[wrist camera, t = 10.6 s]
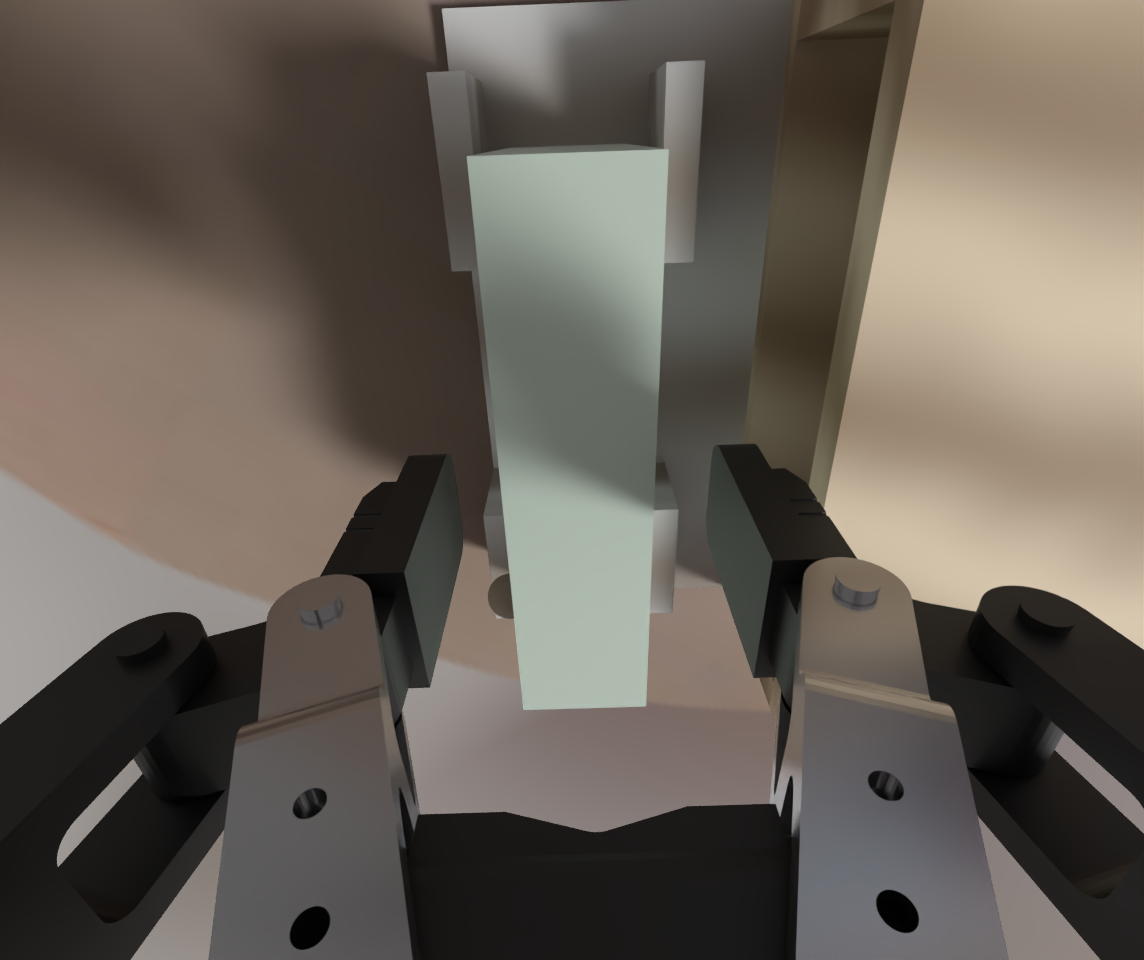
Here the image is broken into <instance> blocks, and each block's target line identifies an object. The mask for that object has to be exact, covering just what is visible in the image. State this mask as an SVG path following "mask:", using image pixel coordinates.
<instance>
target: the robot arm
mask: <svg viewBox="0 0 1144 960" xmlns="http://www.w3.org/2000/svg"><path fill="white" fill-rule="evenodd" d="M706 530H707V539H708V544H709V548H710V551H711V554H712V557H713V560H714V563H715V566H716V569H717V572H718V575H719V578H720V581H721V584H722V586H723V589H724V592H725V595H726V598H727V601H728V604H729V607H730V610H731V613H732V616H733V619H734V622H735V625H736V628H737V631H738V634H739V637H740V640H741V643H742V645H743V648H744V651H745V654H746V657H747V660H748V663H749V666H750V669H751V672H752V675H753V678H768V677H776V678H777V681H778V683H779V686H780V689H781V692H780V697H779V702H778V708H777V717H776V730H775V742H774V756H773V768H772V780H771V781H772V782H771V793H770V804H752V805H721V806H687V807H684V808H681V809H678V810H674V811H671V812H668V813H664V814H661V815H658V816H655V817H651V818H648V819H645V820H641V821H638V822H635V823H632V824H628V825H625V826H622V827H618V828H615V829H611V830H608V831H604V832H588V831H583V830H579V829H575V828H570V827H567V826H562V825H558V824H554V823H549V822H545V821H541V820H537V819H533V818H529V817H524V816H520V815H515V814H512V813H507V812H489V813H458V814H457V813H456V814H425V815H420V810H419V803H418V797H417V791H416V785H415V779H414V773H413V766H412V760H411V754H410V748H409V742H408V736H407V729H406V723H405V719H404V715H403V711H402V708H403V705H404V701H405V698H406V694H407V691H408V688H424V687H425V688H426V687H427V688H428V687H430V685H431V681H432V677H433V672H434V668H435V664H436V660H437V656H438V652H439V648H440V643H441V639H442V635H443V631H444V627H445V623H446V619H447V614H448V610H449V606H450V602H451V598H452V594H453V589H454V585H455V581H456V577H457V573H458V569H459V564H460V560H461V556H462V550H463V526H462V519H461V512H460V506H459V499H458V493H457V486H456V480H455V473H454V467H453V462H452V459H451V456H450V455H449V454H442V455H414V456H409V457H408V459H407V461H406V463H405V465H404V467H403V469H402V471H401V473H400V475H399V477H398V480H397V482H382V483H380V484H379V485H378V486H377V487H375V488H374V489H373V490H372V491H370V492H369V493H368V494H367V495H365V496H364V497H363V498H362V500H361V502H360V504H359V506H358V507H357V509H356V511H355V513H354V518H352V519H351V520H350V522H349V524H348V526H347V528H346V532H344V533H343V535H342V537H341V539H340V541H339V543H338V544H337V546H336V548H335V550H334V552H333V554H332V555H331V557H330V559H329V561H328V563H327V565H326V567H325V568H324V570H323V572H322V574H321V576H320V577H317V578H314V579H310V580H308V581H305V582H303V583H301V584H299V585H297V586H295V587H293V588H292V589H290V590H288V591H287V592H286V593H284V594H283V595H282V596H281V597H280V598H279V599H278V600H277V601H276V602H275V603H274V604H273V606H272V607H271V609H270V611H269V613H268V616H267V621H266V622H263V623H259V624H256V625H252V626H249V627H245V628H241V629H236V630H233V631H229V632H225V633H221V634H217V635H213V636H209V637H208V636H207V634H206V632H205V630H204V627H203V625H202V623H201V621H200V620H199V619H198V618H197V617H195V616H193V615H191V614H187V613H181V612H171V613H170V612H169V613H162V614H157V615H152V616H148V617H146V618H143V619H140V620H137V621H135V622H132V623H130V624H128V625H126V626H124V627H122V628H120V629H118V630H117V631H115V632H114V633H112V634H110V635H109V636H107V637H106V638H105V639H103V640H102V641H101V642H100V643H98V644H97V645H96V646H95V647H93V648H92V649H91V650H90V651H89V652H87V653H86V654H85V655H84V656H83V657H81V658H80V659H79V660H78V661H76V662H75V663H74V664H73V665H72V666H70V667H69V668H68V669H67V670H66V671H64V672H63V673H62V674H61V675H59V676H58V677H57V678H56V679H55V680H53V681H52V682H51V683H50V684H49V685H47V686H46V687H45V688H44V689H43V690H41V691H40V692H39V693H38V694H36V695H35V696H34V697H33V698H32V699H30V700H29V701H28V702H27V703H26V704H24V705H23V706H22V707H21V708H19V709H18V710H17V711H16V712H15V713H14V714H12V715H11V716H10V717H9V718H7V719H6V720H5V721H4V722H2V723H1V724H0V960H131V958H132V957H133V955H134V954H135V953H136V951H137V950H138V948H139V947H140V946H141V944H142V943H143V941H144V940H145V939H146V937H147V936H148V935H149V933H150V932H151V930H152V929H153V927H154V926H155V925H156V923H157V922H158V921H159V919H160V918H161V917H162V915H163V914H164V912H165V911H166V910H167V908H168V907H169V905H170V904H171V903H172V901H173V900H174V898H175V897H176V896H177V894H178V893H179V891H180V890H181V889H182V887H183V886H184V885H185V883H186V882H187V880H188V879H189V878H190V876H191V875H192V873H193V872H194V871H195V869H196V868H197V867H198V865H199V864H200V862H201V861H202V859H203V858H204V857H205V855H206V854H207V853H208V851H209V850H210V848H211V847H212V846H213V844H214V843H215V842H216V840H217V839H218V837H219V836H220V835H221V833H222V832H223V830H224V838H223V846H222V854H221V863H220V871H219V878H218V887H217V895H216V903H215V911H214V919H213V927H212V936H211V944H210V953H209V960H1009V958H1008V953H1007V949H1006V944H1005V940H1004V935H1003V930H1002V926H1001V922H1000V917H999V912H998V908H997V903H996V898H995V894H994V889H993V885H992V880H991V875H990V871H989V866H988V862H987V857H986V852H985V848H984V843H983V839H982V834H981V829H980V825H979V820H978V816H979V818H980V819H981V820H982V821H983V822H984V823H985V825H986V826H987V827H988V828H989V829H990V830H991V832H992V833H993V834H994V835H995V836H996V838H997V839H998V840H999V841H1000V842H1001V843H1002V845H1003V846H1004V847H1005V848H1006V849H1007V850H1008V852H1009V853H1010V854H1011V855H1012V856H1013V857H1014V859H1015V860H1016V861H1017V862H1018V863H1019V864H1020V866H1021V867H1022V868H1023V869H1024V870H1025V871H1026V873H1027V874H1028V875H1029V876H1030V877H1031V879H1032V880H1033V881H1034V882H1035V883H1036V884H1037V886H1038V887H1039V888H1040V889H1041V890H1042V891H1043V893H1044V894H1045V895H1046V896H1047V897H1048V899H1049V900H1050V901H1051V902H1052V903H1053V904H1054V906H1055V907H1056V908H1057V909H1058V910H1059V911H1060V913H1061V914H1062V915H1063V916H1064V917H1065V919H1066V920H1067V921H1068V922H1069V923H1070V924H1071V926H1072V927H1073V928H1074V929H1075V930H1076V931H1077V933H1078V934H1079V935H1080V936H1081V937H1082V938H1083V940H1084V941H1085V942H1086V943H1087V944H1088V945H1089V946H1090V948H1091V949H1092V950H1093V951H1094V953H1095V954H1096V955H1097V956H1098V957H1099V958H1100V960H1144V834H1143V833H1142V832H1141V831H1140V830H1139V829H1138V828H1137V827H1136V826H1135V825H1134V824H1133V823H1132V822H1131V821H1130V820H1129V819H1127V818H1126V817H1125V816H1124V815H1123V814H1122V813H1121V812H1120V811H1119V810H1118V809H1117V808H1116V807H1115V806H1114V805H1112V804H1111V803H1110V802H1109V801H1108V800H1107V799H1106V798H1105V797H1104V796H1103V795H1102V794H1101V793H1100V792H1099V791H1098V790H1096V789H1095V788H1094V787H1093V786H1092V785H1091V784H1090V783H1089V782H1088V781H1087V780H1086V779H1085V778H1084V777H1083V776H1082V775H1080V774H1079V773H1078V772H1077V771H1076V770H1075V769H1074V768H1073V767H1072V766H1071V765H1070V764H1069V763H1068V762H1067V761H1066V760H1065V759H1063V758H1062V757H1061V756H1060V755H1059V754H1058V753H1057V752H1056V751H1055V748H1056V746H1057V744H1058V743H1059V741H1060V739H1061V737H1062V736H1063V734H1064V733H1065V734H1066V735H1068V736H1069V737H1070V738H1071V739H1072V740H1073V741H1074V742H1075V743H1076V744H1077V745H1079V746H1080V747H1081V748H1082V749H1083V750H1084V751H1085V752H1086V753H1088V754H1089V755H1090V756H1091V757H1092V758H1093V759H1094V760H1095V761H1096V762H1098V763H1099V764H1100V765H1101V766H1102V767H1103V768H1104V769H1105V770H1106V771H1107V772H1109V773H1110V774H1111V775H1112V776H1113V777H1114V778H1115V779H1116V780H1118V781H1119V782H1120V783H1121V784H1122V785H1123V786H1124V787H1125V788H1127V789H1128V790H1129V791H1130V792H1131V793H1132V794H1133V795H1134V796H1135V797H1136V799H1137V800H1138V801H1139V802H1140V804H1141V805H1142V807H1143V808H1144V650H1143V649H1142V648H1141V647H1139V646H1138V645H1136V644H1135V643H1133V642H1132V641H1130V640H1129V639H1128V638H1126V637H1125V636H1123V635H1122V634H1120V633H1119V632H1117V631H1116V630H1115V629H1113V628H1112V627H1110V626H1109V625H1107V624H1106V623H1104V622H1103V621H1102V620H1100V619H1099V618H1097V617H1096V616H1094V615H1093V614H1091V613H1090V612H1089V611H1087V610H1086V609H1084V608H1082V607H1081V606H1079V605H1078V604H1076V603H1074V602H1072V601H1070V600H1068V599H1066V598H1063V597H1061V596H1059V595H1056V594H1053V593H1050V592H1047V591H1044V590H1040V589H1036V588H1031V587H1025V586H1000V587H996V588H993V589H990V590H989V591H987V592H986V593H985V594H984V595H983V596H982V598H981V600H980V603H979V605H978V608H977V610H976V612H975V611H970V610H964V609H959V608H953V607H947V606H942V605H936V604H931V603H926V602H921V601H918V600H914V599H912V597H911V594H910V591H909V590H908V588H907V586H906V585H905V584H904V583H903V582H902V581H901V580H900V579H899V578H898V577H897V576H896V575H894V574H893V573H891V572H890V571H888V570H886V569H884V568H883V567H881V566H878V565H876V564H873V563H871V562H867V561H864V560H860V559H857V557H856V556H855V554H854V553H853V551H852V550H851V548H850V547H849V545H848V544H847V542H846V541H845V539H844V538H843V537H842V535H841V534H840V532H839V531H838V529H837V528H836V526H835V525H834V523H833V522H832V520H831V519H830V517H829V516H826V511H825V510H824V508H823V507H822V505H821V504H820V502H817V498H816V496H815V495H814V493H813V492H812V490H811V489H810V487H809V486H808V484H807V483H806V482H805V481H804V480H802V479H801V478H799V477H798V476H796V475H795V474H793V473H792V472H790V471H789V470H787V469H786V468H776V469H771V467H770V466H769V464H768V462H767V461H766V459H765V457H764V456H763V454H762V452H761V451H760V449H759V447H758V446H757V445H756V444H728V445H715V446H714V448H713V452H712V458H711V468H710V479H709V490H708V502H707V513H706ZM132 759H134V760H135V762H136V764H137V765H138V767H139V768H140V770H141V771H142V773H143V774H142V775H141V776H140V778H139V779H138V780H137V781H136V782H135V783H134V784H133V785H132V786H131V787H130V789H129V790H128V791H127V792H126V793H125V794H124V795H123V796H122V797H121V799H120V800H119V801H118V802H117V803H116V804H115V805H114V806H113V807H112V809H111V810H110V811H109V812H108V813H107V814H106V815H105V816H104V817H103V818H102V820H101V821H100V822H99V823H98V824H97V825H96V826H95V827H94V828H93V830H92V831H91V832H90V833H89V834H88V835H87V836H86V837H85V838H84V839H83V841H82V842H81V843H80V844H79V845H78V846H77V847H76V848H75V849H74V850H73V852H72V853H71V854H70V855H69V856H68V857H67V858H66V859H65V861H64V862H63V863H62V864H61V865H60V866H59V867H58V866H57V853H58V849H59V846H60V843H61V841H62V839H63V837H64V835H65V833H66V832H67V830H68V829H69V827H70V826H71V825H72V823H73V822H74V821H75V820H76V819H77V818H78V817H79V816H80V814H81V813H82V812H83V811H84V810H85V809H86V808H87V807H88V806H89V805H90V804H91V803H92V801H94V800H95V798H96V797H97V796H98V795H99V794H100V793H101V792H102V791H103V790H104V789H105V788H106V787H107V786H108V785H109V784H110V783H111V782H112V780H113V779H114V778H115V777H116V776H117V775H118V774H119V773H120V772H121V771H122V770H123V769H124V768H125V767H126V766H127V764H128V763H129V762H130V761H131V760H132ZM977 815H978V816H977Z"/></svg>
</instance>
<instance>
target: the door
mask: <svg viewBox="0 0 1144 960" xmlns="http://www.w3.org/2000/svg"><path fill="white" fill-rule="evenodd" d="M668 156H669V149H664V148H656V147H648V146H639V145H631V144H599V145H571V146H543V147H515V148H506V149H501V150H496V151H491V152H486V153H481V154H476V155H471V156H467V165H468V175H469V184H470V194H471V204H472V214H473V223H474V233H475V243H476V252H477V262H478V272H479V282H480V291H481V301H482V311H483V321H484V330H485V340H486V350H487V359H488V369H489V379H490V389H491V398H492V408H493V418H494V428H495V437H496V447H497V457H498V466H499V476H500V486H501V496H502V505H503V515H504V525H505V535H506V544H507V554H508V564H509V573H508V574H504V575H501V576H499V577H498V578H497V579H495V580H494V581H493V583H492V584H491V586H490V588H489V591H488V601H489V605H490V607H491V609H492V610H493V611H494V612H495V613H496V614H497V615H498V616H500V617H503V618H507V619H513V618H514V622H515V632H516V642H517V651H518V661H519V671H520V680H521V690H522V699H523V710H536V709H569V708H572V709H573V708H607V707H643V706H646V692H647V667H648V643H649V619H650V594H651V570H652V545H653V521H654V497H655V472H656V448H657V424H658V399H659V375H660V351H661V326H662V302H663V278H664V253H665V229H666V205H667V180H668Z"/></svg>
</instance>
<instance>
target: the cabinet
mask: <svg viewBox="0 0 1144 960" xmlns="http://www.w3.org/2000/svg"><path fill="white" fill-rule="evenodd" d="M442 15H443V24H444V33H445V41H446V50H447V59H448V68H449V71H444V72H426V74H427V81H428V89H429V97H430V105H431V113H432V120H433V128H434V136H435V144H436V152H437V159H438V167H439V175H440V183H441V191H442V198H443V206H444V214H445V222H446V230H447V237H448V245H449V253H450V261H451V269H452V272H454V271H471V272H472V281H473V290H474V298H475V307H476V316H477V325H478V334H479V343H480V352H481V360H482V369H483V378H484V387H485V396H486V405H487V414H488V422H489V431H490V440H491V449H492V458H493V467H494V469H493V474H492V478H491V483H490V487H489V492H488V497H487V501H486V506H485V510H484V515H483V519H484V526H485V534H486V542H487V550H488V558H489V565H490V573H491V581H492V583H493V581H494V580H495V579H497V578H498V577H499V576H501V575H504V574H508V573H509V564H508V554H507V544H506V535H505V525H504V515H503V505H502V496H501V486H500V476H499V466H498V457H497V447H496V437H495V428H494V418H493V408H492V398H491V389H490V379H489V369H488V359H487V350H486V340H485V330H484V321H483V311H482V301H481V291H480V282H479V272H478V262H477V252H476V243H475V233H474V223H473V214H472V204H471V194H470V184H469V175H468V165H467V156H471V155H476V154H481V153H486V152H491V151H496V150H501V149H506V148H515V147H543V146H571V145H599V144H631V145H639V146H648V147H656V148H664V149H669V156H668V180H667V205H666V229H665V253H664V278H663V302H662V326H661V351H660V375H659V399H658V424H657V448H656V472H655V497H654V521H653V545H652V570H651V594H650V613H673V597H674V589H679V588H709V587H723V586H722V584H721V581H720V578H719V575H718V572H717V569H716V566H715V563H714V560H713V557H712V554H711V551H710V548H709V544H708V539H707V530H706V513H707V502H708V490H709V479H710V468H711V458H712V452H713V448H714V446H715V445H728V444H756V445H757V446H758V447H759V449H760V451H761V452H762V454H763V456H764V457H765V459H766V461H767V462H768V464H769V466H770V467H771V469H776V468H786V469H787V470H789V471H790V472H792V473H793V474H795V475H796V476H798V477H799V478H801V479H802V480H804V481H805V482H806V483H807V484H808V486H809V487H810V489H811V490H812V492H813V493H814V495H815V496H816V498H817V502H820V504H821V505H822V507H823V508H824V510H825V511H826V516H829V517H830V519H831V520H832V522H833V523H834V525H835V526H836V528H837V529H838V531H839V532H840V534H841V535H842V537H843V538H844V539H845V541H846V542H847V544H848V545H849V547H850V548H851V550H852V551H853V553H854V554H855V556H856V557H857V559H860V560H864V561H867V562H871V563H873V564H876V565H878V566H881V567H883V568H884V569H886V570H888V571H890V572H891V573H893V574H894V575H896V576H897V577H898V578H899V579H900V580H901V581H902V582H903V583H904V584H905V585H906V586H907V588H908V590H909V591H910V594H911V597H912V599H914V600H918V601H921V602H926V603H931V604H936V605H942V606H947V607H953V608H959V609H964V610H970V611H975V612H976V610H977V608H978V605H979V603H980V600H981V598H982V596H983V595H984V594H985V593H986V592H987V591H989V590H990V589H993V588H996V587H1000V586H1025V587H1031V588H1036V589H1040V590H1044V591H1047V592H1050V593H1053V594H1056V595H1059V596H1061V597H1063V598H1066V599H1068V600H1070V601H1072V602H1074V603H1076V604H1078V605H1079V606H1081V607H1082V608H1084V609H1086V610H1087V611H1089V612H1090V613H1091V614H1093V615H1094V616H1096V617H1097V618H1099V619H1100V620H1102V621H1103V622H1104V623H1106V624H1107V625H1109V626H1110V627H1112V628H1113V629H1115V630H1116V631H1117V632H1119V633H1120V634H1122V635H1123V636H1125V637H1126V638H1128V639H1129V640H1130V641H1132V642H1133V643H1135V644H1136V645H1138V646H1139V647H1141V648H1142V649H1143V650H1144V0H626V1H603V2H580V3H558V4H535V5H512V6H489V7H466V8H443V9H442ZM496 618H503V617H500V616H498V615H497V614H496ZM760 681H761V684H762V687H763V690H764V692H765V695H766V698H767V701H768V704H769V706H770V709H771V712H772V715H773V717H774V720H775V723H776V717H777V708H778V702H779V697H780V692H781V689H780V686H779V683H778V681H777V678H776V677H768V678H760Z"/></svg>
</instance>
